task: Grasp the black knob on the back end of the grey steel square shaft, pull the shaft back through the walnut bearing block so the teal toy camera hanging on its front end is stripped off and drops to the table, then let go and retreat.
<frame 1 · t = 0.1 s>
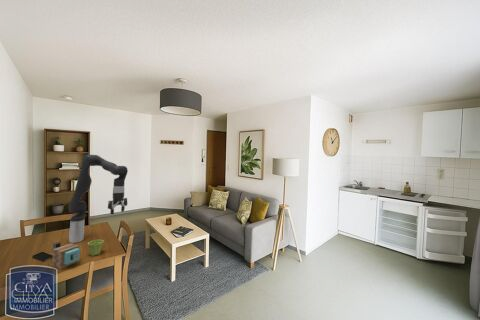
hand: (117, 212, 149), 29 cm above the table, fingers open, 8 cm apart
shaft: (65, 250, 129), point 9 cm above the table, slide at 0.0 cm, touching teal toy camera
plant pot: (95, 254, 143), on the table
bearing block: (65, 264, 128), on the table
teal toy camera: (71, 261, 126), point 3 cm above the table, touching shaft
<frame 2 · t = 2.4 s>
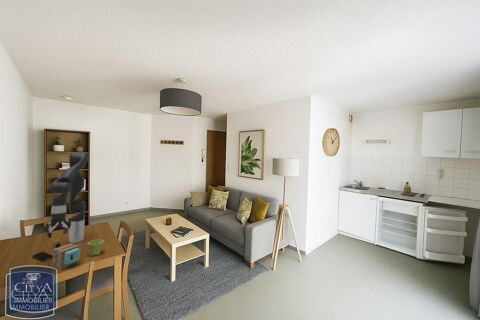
hand: (57, 235, 132), 17 cm above the table, fingers open, 8 cm apart
nothing on the table moved.
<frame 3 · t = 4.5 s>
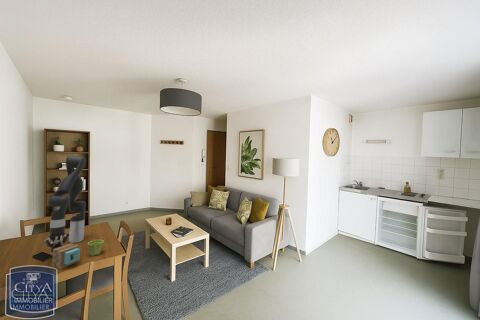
hand: (56, 251, 131), 7 cm above the table, fingers closed on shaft, 2 cm apart
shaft: (65, 250, 129), point 9 cm above the table, slide at 0.0 cm, touching gripper, teal toy camera
everything else where it was.
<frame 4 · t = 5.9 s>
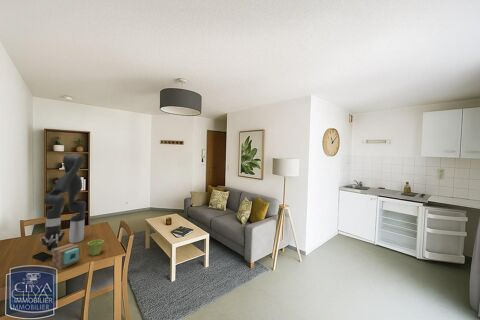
hand: (51, 249, 133), 7 cm above the table, fingers closed on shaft, 2 cm apart
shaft: (60, 248, 130), point 9 cm above the table, slide at 4.8 cm, touching gripper, teal toy camera
teal toy camera: (71, 261, 126), point 3 cm above the table, touching bearing block, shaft
everything else where it was.
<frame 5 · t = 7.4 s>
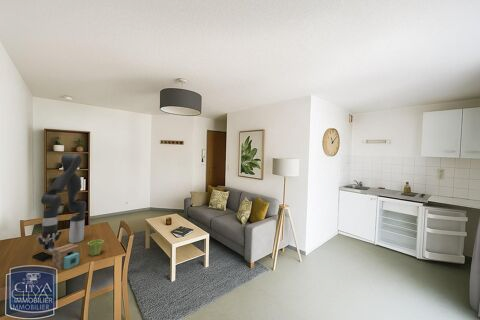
hand: (48, 248, 134), 7 cm above the table, fingers closed on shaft, 2 cm apart
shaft: (57, 247, 131), point 9 cm above the table, slide at 8.3 cm, touching gripper
teal toy camera: (71, 266, 126), on the table
everything else where it was.
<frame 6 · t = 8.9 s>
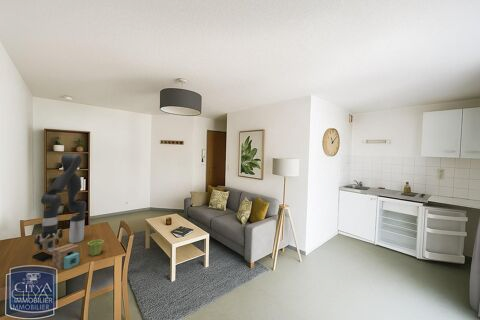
hand: (48, 247, 134), 8 cm above the table, fingers open, 8 cm apart
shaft: (57, 247, 131), point 9 cm above the table, slide at 8.4 cm
everything else where it was.
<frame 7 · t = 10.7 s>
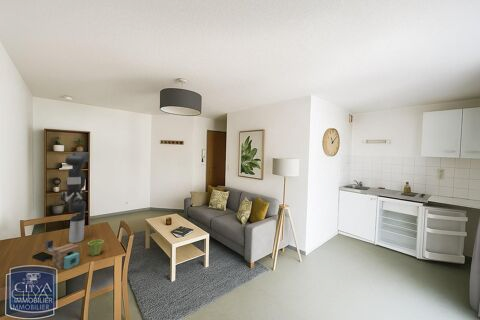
hand: (72, 205, 142), 35 cm above the table, fingers open, 8 cm apart
nothing on the table moved.
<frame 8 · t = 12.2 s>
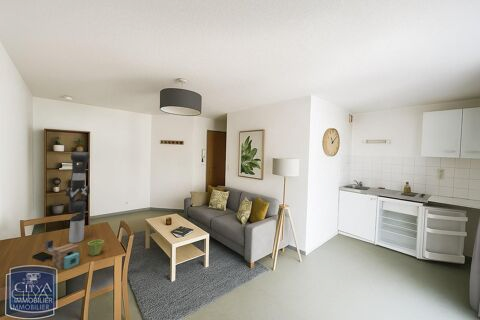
hand: (77, 201, 143), 38 cm above the table, fingers open, 8 cm apart
nothing on the table moved.
at the end: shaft slide at 8.4 cm; teal toy camera on the table; teal toy camera touching table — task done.
